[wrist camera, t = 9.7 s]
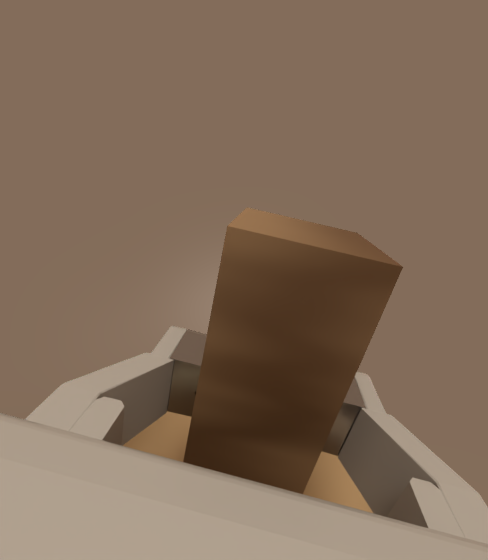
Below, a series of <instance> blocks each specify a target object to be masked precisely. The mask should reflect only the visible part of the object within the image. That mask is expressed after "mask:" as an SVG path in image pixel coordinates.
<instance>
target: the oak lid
mask: <svg viewBox="0 0 488 560" xmlns="http://www.w3.org/2000/svg"><path fill="white" fill-rule="evenodd" d="M402 268H403V267H402V266H401V265H400V264H398V263H397V262H395V261H394V260H393V259H392V258H390V257H389V256H388V255H386V254H385V253H383V252H382V251H381V250H379V249H378V248H377V247H375V246H374V245H373V244H371V243H370V242H369V241H367V240H366V239H364V238H363V237H362V236H361V235H359V234H358V233H355V232H350V231H347V230H342V229H338V228H333V227H329V226H325V225H321V224H316V223H312V222H307V221H303V220H299V219H295V218H290V217H286V216H282V215H277V214H273V213H269V212H264V211H260V210H255V209H251V208H246V209H245V210H244V211H243V212H242V213H241V214H240V215H238V216H237V217H236V218H235V219H234V220H233V221H232V222H231V223H230V224H229V225H228V226H227V232H226V236H225V242H224V247H223V252H222V257H221V263H220V269H219V273H218V279H217V284H216V289H215V295H214V300H213V305H212V311H211V316H210V321H209V327H208V332H207V337H206V343H205V348H204V353H203V359H202V364H201V369H200V375H199V380H198V385H197V391H196V396H195V401H194V407H193V412H192V417H190V416H185V415H181V414H177V413H172V412H168V411H167V412H166V414H164V415H163V416H162V417H160V418H159V419H158V420H156V421H155V422H154V423H152V424H151V425H149V426H148V427H147V428H145V429H144V430H143V431H141V432H140V433H139V434H137V435H136V436H135V437H133V438H132V439H131V440H129V441H128V442H127V443H125V444H124V445H122V446H125V447H129V448H133V449H136V450H140V451H144V452H148V453H151V454H155V455H159V456H162V457H166V458H170V459H174V460H177V461H181V462H185V463H188V464H192V465H196V466H200V467H203V468H207V469H211V470H215V471H218V472H222V473H226V474H229V475H233V476H237V477H241V478H244V479H248V480H252V481H255V482H259V483H263V484H267V485H270V486H274V487H278V488H282V489H285V490H289V491H293V492H296V493H300V494H304V495H308V496H311V497H315V498H319V499H322V500H326V501H330V502H333V503H337V504H341V505H345V506H348V507H352V508H356V509H359V510H363V511H367V512H370V513H373V512H372V510H371V508H370V507H369V505H368V504H367V502H366V501H365V499H364V498H363V496H362V494H361V493H360V491H359V490H358V488H357V487H356V485H355V484H354V482H353V481H352V479H351V477H350V476H349V474H348V473H347V471H346V470H345V468H344V467H343V465H342V463H341V462H340V460H339V459H338V456H336V455H332V454H329V453H325V452H322V449H323V447H324V445H325V442H326V440H327V438H328V436H329V433H330V431H331V429H332V427H333V424H334V422H335V420H336V418H337V415H338V413H339V411H340V408H341V406H342V404H343V402H344V399H345V397H346V395H347V393H348V390H349V388H350V386H351V384H352V381H353V379H354V377H355V374H356V372H357V370H358V368H359V365H360V363H361V361H362V359H363V356H364V354H365V352H366V350H367V347H368V345H369V343H370V340H371V338H372V336H373V334H374V331H375V329H376V327H377V325H378V322H379V320H380V318H381V315H382V313H383V311H384V309H385V307H386V304H387V302H388V300H389V297H390V295H391V293H392V291H393V288H394V286H395V284H396V282H397V279H398V277H399V275H400V272H401V270H402Z"/></svg>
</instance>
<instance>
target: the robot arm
mask: <svg viewBox="0 0 488 560" xmlns="http://www.w3.org/2000/svg"><path fill="white" fill-rule="evenodd" d="M206 337H207V334H203V333H199V332H196V331H192V330H187V329H185V328H181V327H177V326H171V327H170V328H169V329H168V331H167V332H166V333H165V335H164V336H163V338H162V339H161V340H160V342H159V343H158V344H157V346H156V347H155V348H154V350H153V351H152V352H151V354H149V353H144V354H141V355H138V356H136V357H133V358H130V359H127V360H125V361H122V362H119V363H117V364H114V365H111V366H109V367H106V368H103V369H101V370H98V371H95V372H93V373H90V374H87V375H85V376H82V377H79V378H77V379H74V380H71V381H68V382H66V383H63V384H62V385H61V386H60V387H59V388H58V389H56V390H55V391H54V392H53V393H52V394H51V395H50V396H49V397H48V398H47V399H46V400H45V401H44V402H43V403H42V404H41V405H40V406H38V407H37V408H36V409H35V410H34V411H33V412H32V413H31V414H30V415H29V416H28V417H27V418H26V419H21V418H18V417H14V416H10V415H6V414H3V413H0V560H488V507H487V506H486V504H485V502H484V501H483V500H482V498H481V496H480V495H479V493H478V492H476V491H475V490H474V489H473V488H472V487H471V486H470V485H469V484H468V483H466V482H465V481H464V480H463V479H462V478H461V477H460V476H459V475H457V474H456V473H455V472H454V471H453V470H452V469H451V468H450V467H449V466H447V465H446V464H445V463H444V462H443V461H442V460H441V459H440V458H438V456H436V455H435V454H434V453H433V452H432V451H431V450H430V449H429V448H427V447H426V446H425V445H424V444H423V443H422V442H421V441H420V440H418V439H417V438H416V437H415V436H414V435H413V434H412V433H411V432H410V431H409V430H407V429H406V428H405V427H404V426H403V425H402V424H401V423H400V422H398V421H397V420H396V419H395V418H394V417H393V416H392V415H388V414H386V412H385V410H384V408H383V406H382V403H381V401H380V399H379V397H378V395H377V392H376V390H375V388H374V386H373V384H372V381H371V379H370V377H369V376H368V375H367V374H365V373H361V372H356V374H355V377H354V379H353V381H352V384H351V386H350V388H349V390H348V393H347V395H346V397H345V399H344V402H343V404H342V406H341V408H340V411H339V413H338V415H337V418H336V420H335V422H334V424H333V427H332V429H331V431H330V433H329V436H328V438H327V440H326V442H325V445H324V447H323V449H322V452H325V453H329V454H332V455H336V456H338V459H339V460H340V462H341V463H342V465H343V467H344V468H345V470H346V471H347V473H348V474H349V476H350V477H351V479H352V481H353V482H354V484H355V485H356V487H357V488H358V490H359V491H360V493H361V494H362V496H363V498H364V499H365V501H366V502H367V504H368V505H369V507H370V508H371V510H372V512H373V513H370V512H367V511H363V510H359V509H356V508H352V507H348V506H345V505H341V504H337V503H333V502H330V501H326V500H322V499H319V498H315V497H311V496H308V495H304V494H300V493H296V492H293V491H289V490H285V489H282V488H278V487H274V486H270V485H267V484H263V483H259V482H255V481H252V480H248V479H244V478H241V477H237V476H233V475H229V474H226V473H222V472H218V471H215V470H211V469H207V468H203V467H200V466H196V465H192V464H188V463H185V462H181V461H177V460H174V459H170V458H166V457H162V456H159V455H155V454H151V453H148V452H144V451H140V450H136V449H133V448H129V447H125V446H122V445H124V444H125V443H127V442H128V441H129V440H131V439H132V438H133V437H135V436H136V435H137V434H139V433H140V432H141V431H143V430H144V429H145V428H147V427H148V426H149V425H151V424H152V423H154V422H155V421H156V420H158V419H159V418H160V417H162V416H163V415H164V414H166V412H167V411H168V412H172V413H177V414H181V415H185V416H190V417H192V412H193V407H194V401H195V396H196V391H197V385H198V380H199V375H200V369H201V364H202V359H203V353H204V348H205V343H206Z"/></svg>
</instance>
